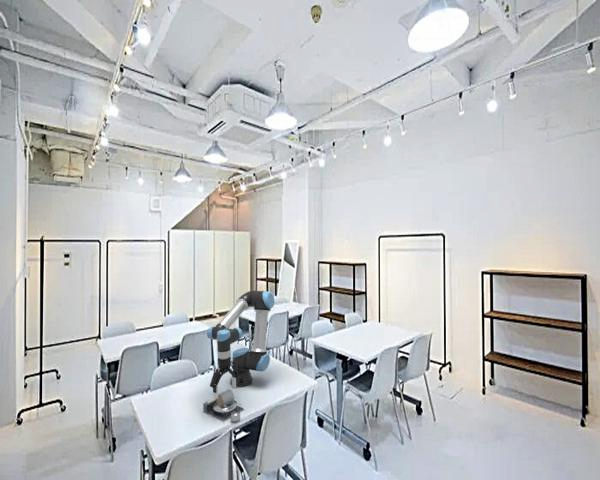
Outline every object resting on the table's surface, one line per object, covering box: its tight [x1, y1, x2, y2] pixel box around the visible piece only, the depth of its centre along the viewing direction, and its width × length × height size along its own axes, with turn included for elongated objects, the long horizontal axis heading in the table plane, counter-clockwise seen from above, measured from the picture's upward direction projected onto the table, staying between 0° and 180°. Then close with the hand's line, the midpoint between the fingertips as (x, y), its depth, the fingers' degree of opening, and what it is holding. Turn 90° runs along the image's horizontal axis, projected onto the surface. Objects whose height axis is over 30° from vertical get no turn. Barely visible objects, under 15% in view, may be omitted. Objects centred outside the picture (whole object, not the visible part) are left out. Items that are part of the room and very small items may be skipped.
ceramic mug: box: [216, 388, 235, 409], centre depth 191 cm, size 11×8×8 cm
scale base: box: [202, 397, 245, 422], centre depth 193 cm, size 15×18×5 cm
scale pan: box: [213, 399, 238, 412], centre depth 192 cm, size 14×14×3 cm
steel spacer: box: [230, 411, 241, 424], centre depth 183 cm, size 5×5×4 cm
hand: (225, 392), depth 193 cm, fingers open, 13 cm apart
